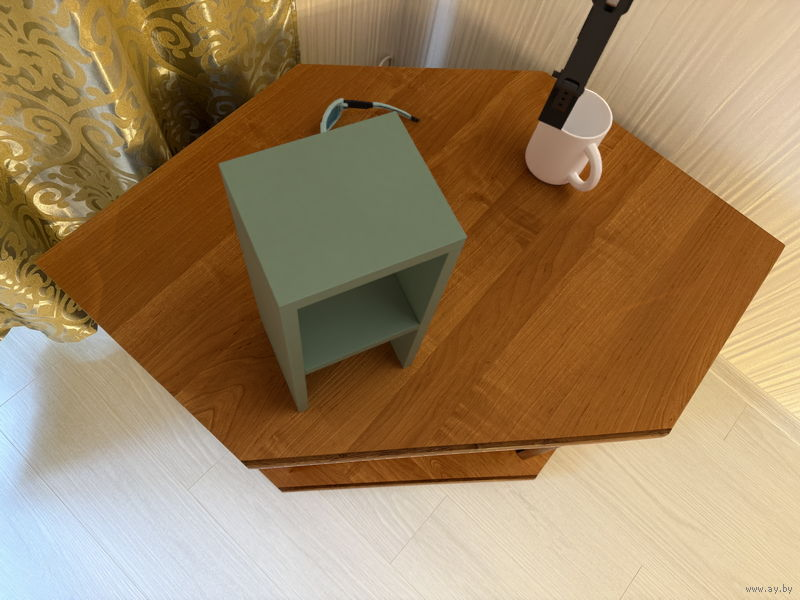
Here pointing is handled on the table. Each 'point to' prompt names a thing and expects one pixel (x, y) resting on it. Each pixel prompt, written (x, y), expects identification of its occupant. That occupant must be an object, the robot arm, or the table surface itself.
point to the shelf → (342, 244)
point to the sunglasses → (335, 113)
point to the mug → (571, 144)
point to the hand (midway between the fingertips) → (570, 80)
